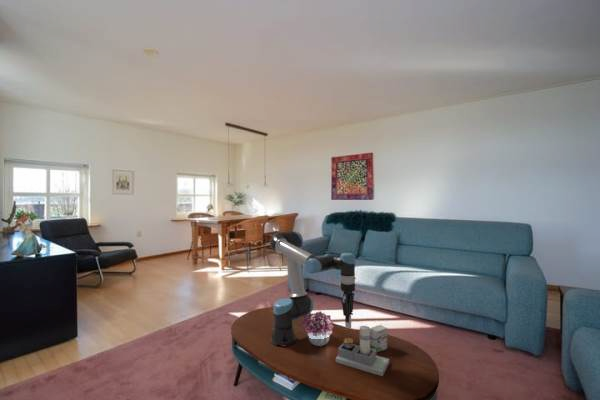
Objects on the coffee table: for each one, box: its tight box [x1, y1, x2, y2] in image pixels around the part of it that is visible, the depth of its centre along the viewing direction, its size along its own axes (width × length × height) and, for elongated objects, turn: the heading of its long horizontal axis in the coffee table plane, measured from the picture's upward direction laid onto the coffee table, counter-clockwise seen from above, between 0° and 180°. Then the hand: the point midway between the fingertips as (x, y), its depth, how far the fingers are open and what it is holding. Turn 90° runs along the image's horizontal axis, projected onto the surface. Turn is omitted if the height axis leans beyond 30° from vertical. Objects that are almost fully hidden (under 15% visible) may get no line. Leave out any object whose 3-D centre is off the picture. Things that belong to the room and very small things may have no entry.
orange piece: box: [343, 337, 354, 351], centre depth 150 cm, size 5×5×5 cm
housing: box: [335, 341, 390, 377], centre depth 146 cm, size 24×13×6 cm, turn 59°
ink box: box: [370, 324, 388, 353], centre depth 160 cm, size 9×5×12 cm, turn 123°
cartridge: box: [359, 325, 371, 356], centre depth 146 cm, size 5×5×16 cm
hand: (348, 327), depth 150 cm, fingers closed
